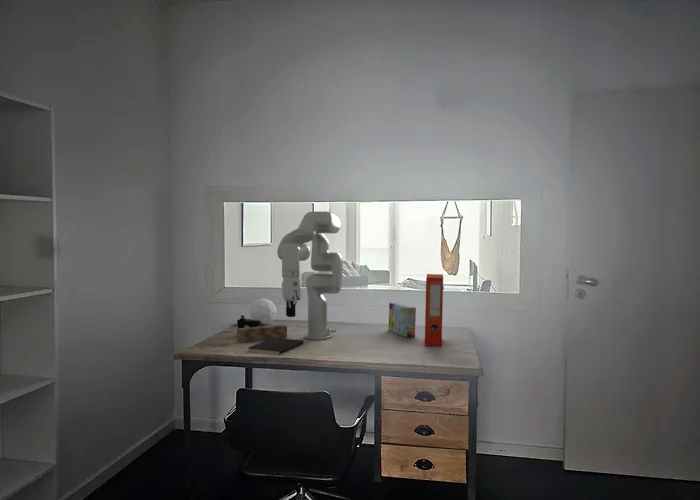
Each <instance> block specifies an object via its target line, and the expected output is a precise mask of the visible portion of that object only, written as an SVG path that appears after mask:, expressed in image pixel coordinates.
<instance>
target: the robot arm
mask: <svg viewBox="0 0 700 500" xmlns="http://www.w3.org/2000/svg"><path fill="white" fill-rule="evenodd" d="M340 230H341V221H340V218H339V217H338V216H337V215H336V214H334V213H333V212H330V211H316V210H315V211H308V212H306V213H305V215H304V216H303V218H302V220H301V221H300V224H299V225H298V228H296V229H293V230H292V231H289V233H287V234H285V235H284V236H283V237H282V238H281V240H280V242H279V244H278V248H277V253H276V254H277V258H279V260H281V278H282V288H281V289H282V290H281V291H282V298H283V301H285V316H286V317H288V318H295V317H296V309H297V308H296V307H297V304H298V301H301V298H302V297H301V295H302V294H301V282H300V275H301V273H300V271H301V270H300V268H301V267H300V266H301V265H300V262H304V261H306V260H308V259H309V258H310V268H311V269H312V270H313V271H315V272H326V273H312V274H310V275H307V277H306V280H305V286H306V293H307V333H306V334H305V335H304V339H308V340H313V341H314V340H315V341H317V340H318V341H321V340H322V341H323V340H327V339H330V338H331V334H332V333H333V334H334V333H335V334H336V333H337V329H336V328H330V327H328V301H327V299H326V296H325V295H324V294H329V295H330V294H332V295H334V294H335V295H336V294H339V293H340V292H341V290H342V285H343V283H342V282H343V268H344V262H343V261H344V260H343V257H342V254H341V253H339V252H333V251H332V252H330V250H329V249H330V241H329V239H328V238H327V237H326V235H325V234H337V233H339V231H340ZM309 242H311V248H310V246H309V245H307V243H309ZM310 255H311V256H310ZM327 272H328V273H329V274H328V273H327ZM330 272H331V273H332V274H330Z"/></svg>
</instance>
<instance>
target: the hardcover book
mask: <svg viewBox="0 0 700 500" xmlns="http://www.w3.org/2000/svg"><path fill="white" fill-rule="evenodd" d="M302 344H303V345H304V340H302V339H294V338H293V339H290V338H272V339H269V340H263V341H260V342H259V343H257V344H254V345H251V346H249V347H248V348H247V349H248V352H250V351H253V352H252V353H259V352H263V353H262V354H269V353H271V354H272V355H278V354H279V356H280V355H282V353H283V354H284V352H285V353H287V352H289V351H291V350H290V349H292V350H294V349H296V348H298V347H300V345H301V346H302ZM295 347H296V348H295ZM293 348H294V349H293ZM288 350H289V351H288ZM286 351H287V352H286ZM271 354H270V355H271Z"/></svg>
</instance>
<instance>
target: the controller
mask: <svg viewBox="0 0 700 500" xmlns="http://www.w3.org/2000/svg"><path fill="white" fill-rule="evenodd" d="M236 324H237V325H236V326H237V329H239V328H246V326H247V327H248V328H251V327H260V326H261V325H262V324H261V322H260V320H252V319H250V318H248V319H247V318H245V315H240V318H239V319H237V320H236Z"/></svg>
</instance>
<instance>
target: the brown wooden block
mask: <svg viewBox="0 0 700 500" xmlns="http://www.w3.org/2000/svg"><path fill="white" fill-rule="evenodd" d="M272 338H283V339H288V325H285V324H278V325H277V324H276V325H275V324H274V325H263V326H257V327H251V328H250V327H244V328H239V329H238V328H236V341H237V343H239V344H240V343H249V342H250V343H251V341H252V342H262V341H267V340H269V339H272ZM261 340H262V341H261Z"/></svg>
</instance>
